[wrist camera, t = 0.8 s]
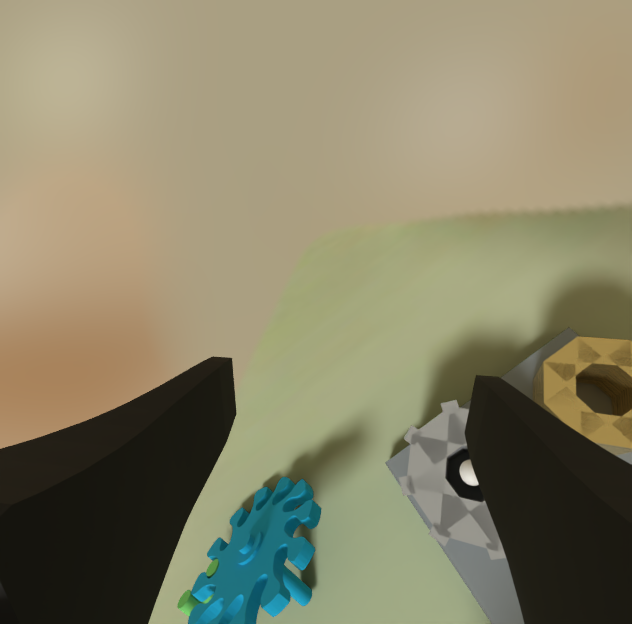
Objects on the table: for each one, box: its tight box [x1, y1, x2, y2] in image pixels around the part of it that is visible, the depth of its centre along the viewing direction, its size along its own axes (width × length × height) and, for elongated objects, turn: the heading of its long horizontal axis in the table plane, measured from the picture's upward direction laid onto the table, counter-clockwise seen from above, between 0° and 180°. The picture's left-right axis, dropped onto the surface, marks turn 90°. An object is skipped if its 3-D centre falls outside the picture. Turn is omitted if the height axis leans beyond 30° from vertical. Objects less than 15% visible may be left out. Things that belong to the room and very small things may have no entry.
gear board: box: [385, 327, 632, 624], centre depth 19 cm, size 15×15×6 cm
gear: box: [178, 477, 321, 624], centre depth 24 cm, size 11×6×10 cm
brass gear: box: [533, 337, 632, 456], centre depth 21 cm, size 6×6×4 cm
